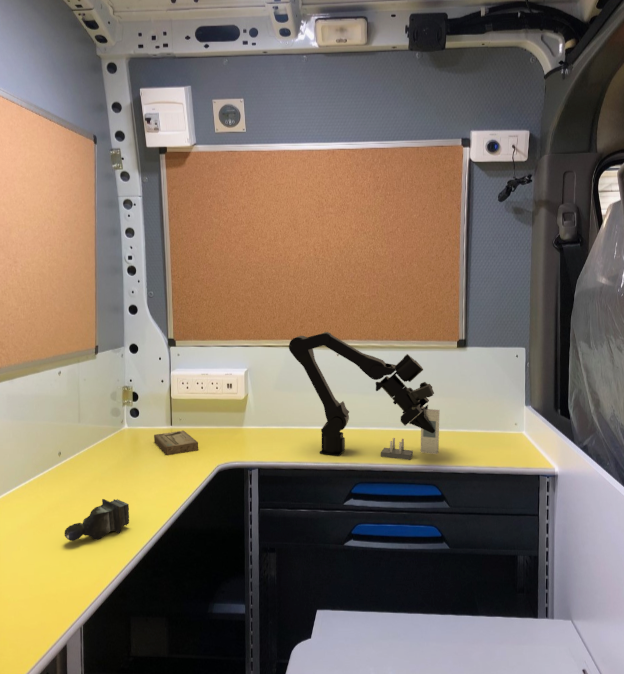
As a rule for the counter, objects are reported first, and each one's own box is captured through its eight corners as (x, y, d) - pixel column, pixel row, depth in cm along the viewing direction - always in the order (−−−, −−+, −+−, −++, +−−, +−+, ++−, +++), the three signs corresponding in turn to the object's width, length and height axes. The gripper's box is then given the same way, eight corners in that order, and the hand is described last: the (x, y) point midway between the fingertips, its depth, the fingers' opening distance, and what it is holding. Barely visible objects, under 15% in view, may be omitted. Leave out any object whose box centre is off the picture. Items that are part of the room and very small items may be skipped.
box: (166, 457, 169) (165, 447, 168) (153, 443, 184) (153, 434, 183) (199, 451, 174) (199, 442, 173) (184, 438, 189) (184, 429, 189)
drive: (420, 452, 163) (421, 410, 162) (421, 450, 165) (422, 408, 164) (437, 454, 161) (438, 411, 160) (438, 452, 164) (439, 409, 163)
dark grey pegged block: (380, 456, 166) (380, 440, 166) (384, 452, 171) (384, 436, 170) (409, 459, 163) (410, 443, 163) (412, 455, 168) (412, 439, 167)
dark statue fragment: (60, 544, 111) (58, 514, 110) (114, 521, 121) (113, 494, 121) (78, 552, 107) (76, 522, 106) (132, 528, 118) (131, 500, 117)
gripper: (412, 379, 154) (451, 421, 151) (422, 370, 171) (457, 407, 169) (384, 404, 157) (422, 445, 155) (397, 393, 175) (431, 429, 172)
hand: (434, 431), depth 162 cm, fingers closed on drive, 2 cm apart
